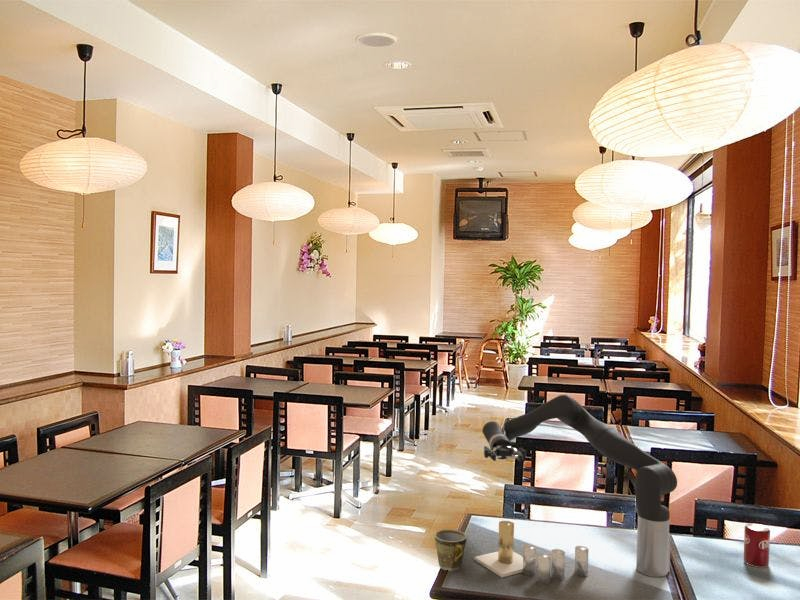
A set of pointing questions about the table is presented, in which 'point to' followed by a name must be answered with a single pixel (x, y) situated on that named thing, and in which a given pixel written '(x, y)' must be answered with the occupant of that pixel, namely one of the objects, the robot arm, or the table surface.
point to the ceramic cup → (450, 548)
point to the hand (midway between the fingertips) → (507, 458)
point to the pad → (501, 564)
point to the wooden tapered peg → (506, 542)
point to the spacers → (553, 563)
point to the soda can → (756, 545)
